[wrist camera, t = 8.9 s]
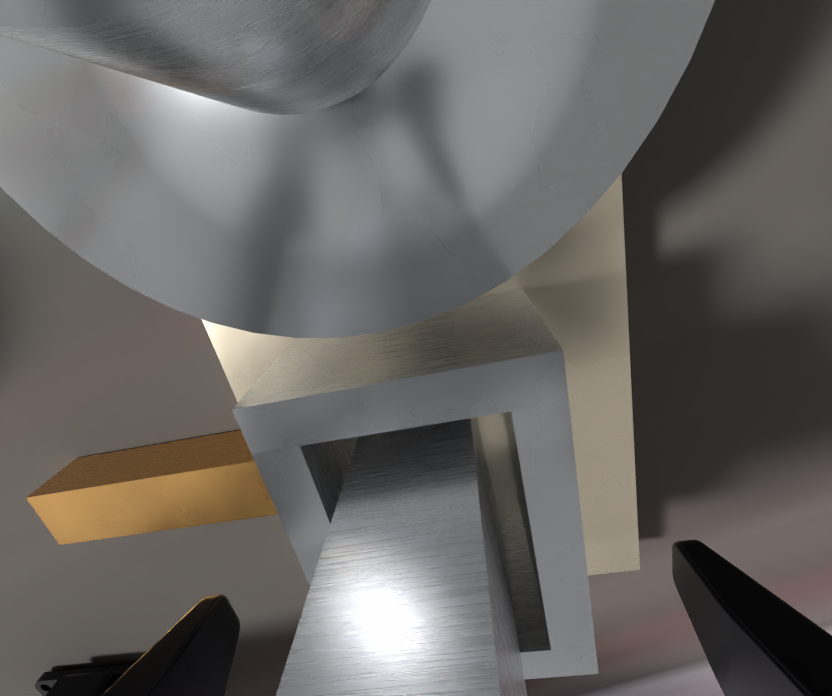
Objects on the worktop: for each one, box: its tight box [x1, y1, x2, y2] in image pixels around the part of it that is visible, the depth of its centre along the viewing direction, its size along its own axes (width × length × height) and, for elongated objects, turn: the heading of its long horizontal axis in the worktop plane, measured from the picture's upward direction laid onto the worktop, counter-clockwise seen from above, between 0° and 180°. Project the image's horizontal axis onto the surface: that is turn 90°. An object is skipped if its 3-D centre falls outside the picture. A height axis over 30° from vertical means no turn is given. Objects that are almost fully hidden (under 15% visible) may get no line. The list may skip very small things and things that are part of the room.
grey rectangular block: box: [276, 417, 527, 696], centre depth 9 cm, size 5×2×9 cm, turn 14°
